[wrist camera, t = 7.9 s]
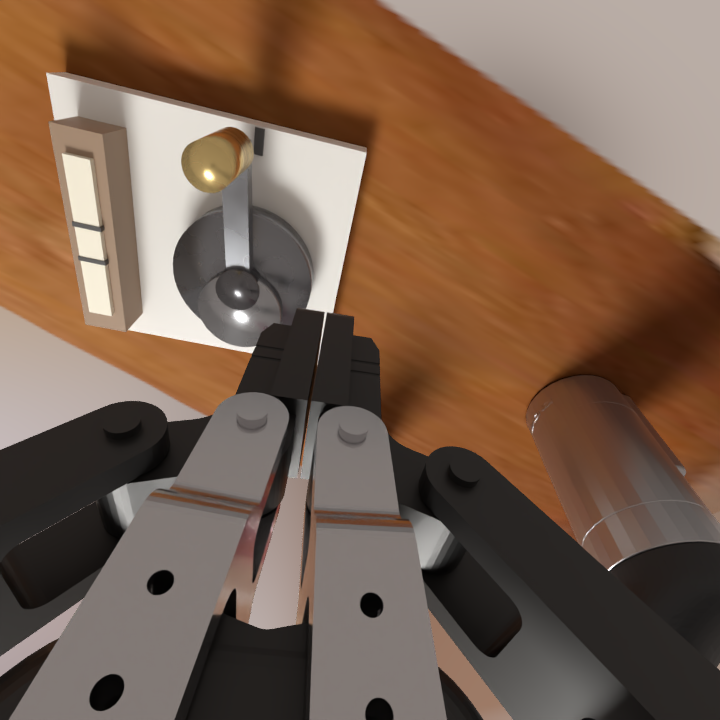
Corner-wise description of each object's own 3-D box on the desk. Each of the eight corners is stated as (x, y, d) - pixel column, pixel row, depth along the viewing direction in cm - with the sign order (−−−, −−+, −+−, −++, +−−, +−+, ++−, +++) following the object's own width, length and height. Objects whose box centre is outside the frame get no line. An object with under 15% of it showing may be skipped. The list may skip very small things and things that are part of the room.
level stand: (366, 147, 29) (366, 162, 25) (323, 353, 40) (317, 390, 35) (65, 72, 27) (6, 74, 23) (102, 311, 37) (66, 344, 33)
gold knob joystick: (309, 332, 36) (295, 395, 29) (189, 318, 35) (147, 378, 28) (324, 132, 27) (309, 156, 20) (165, 108, 26) (95, 124, 20)
